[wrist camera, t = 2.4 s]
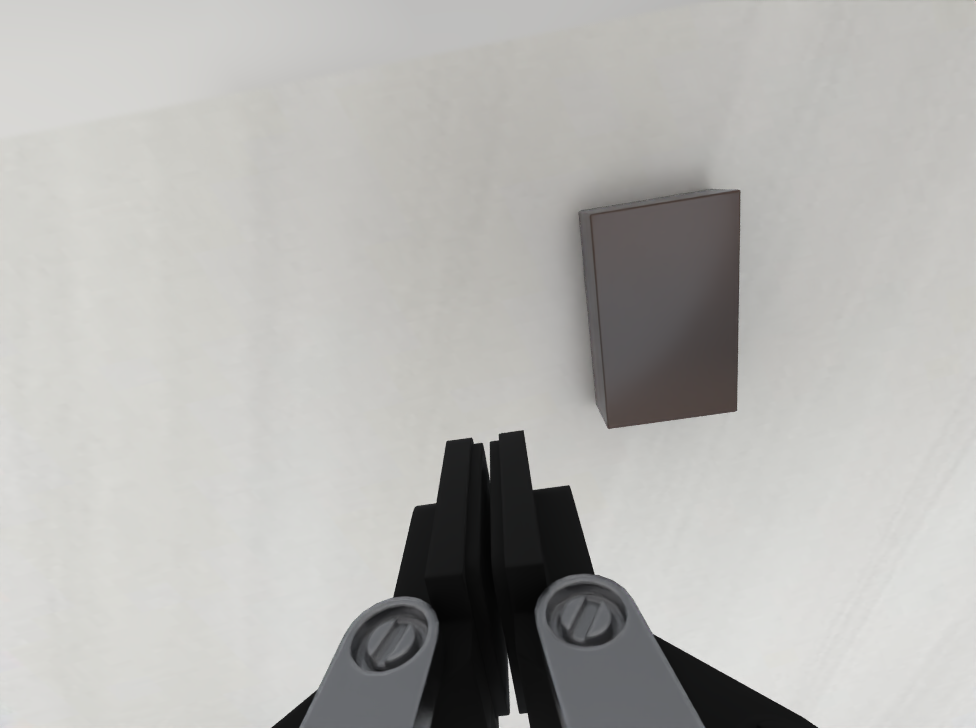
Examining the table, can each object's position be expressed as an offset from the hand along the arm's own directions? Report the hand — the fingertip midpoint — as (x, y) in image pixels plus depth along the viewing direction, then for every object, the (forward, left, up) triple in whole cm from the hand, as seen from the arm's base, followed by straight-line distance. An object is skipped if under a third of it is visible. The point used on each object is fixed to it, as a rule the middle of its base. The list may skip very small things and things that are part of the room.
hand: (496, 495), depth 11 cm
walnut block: (-4, +6, -12) cm, 14 cm away
